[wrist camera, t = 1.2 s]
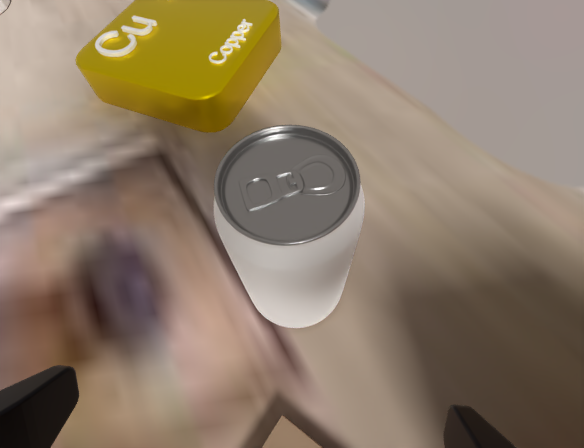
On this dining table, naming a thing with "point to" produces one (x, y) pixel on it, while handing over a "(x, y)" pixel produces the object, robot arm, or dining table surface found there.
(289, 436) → the tan flat board
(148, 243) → the dining table surface
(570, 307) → the dining table surface
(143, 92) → the element tile
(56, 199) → the dining table surface
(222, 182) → the can
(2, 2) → the white cup
